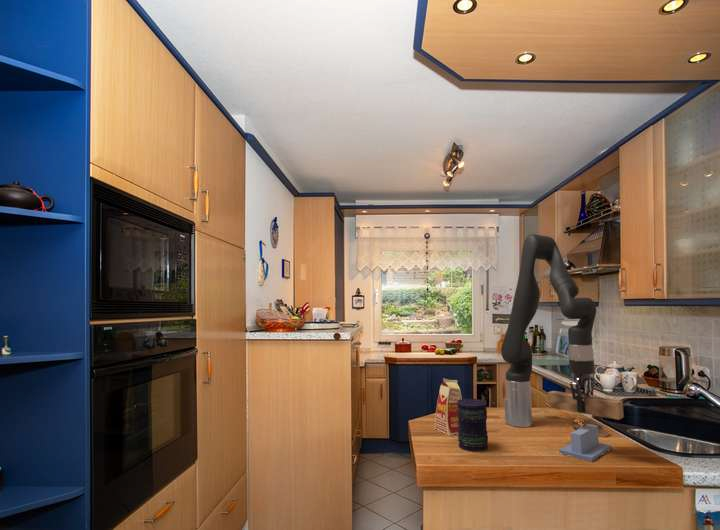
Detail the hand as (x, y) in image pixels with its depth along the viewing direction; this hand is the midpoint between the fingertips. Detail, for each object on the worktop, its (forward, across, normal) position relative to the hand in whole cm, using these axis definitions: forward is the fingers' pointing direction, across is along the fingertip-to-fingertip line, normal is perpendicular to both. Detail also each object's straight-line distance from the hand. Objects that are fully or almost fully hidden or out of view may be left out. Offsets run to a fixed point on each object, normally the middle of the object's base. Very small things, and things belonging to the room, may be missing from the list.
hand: (584, 410), depth 146 cm
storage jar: (+13, +22, -28) cm, 38 cm away
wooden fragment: (+13, -27, -10) cm, 32 cm away
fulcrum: (+13, 0, 0) cm, 13 cm away
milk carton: (+13, +13, -44) cm, 48 cm away
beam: (0, 0, 0) cm, 0 cm away
